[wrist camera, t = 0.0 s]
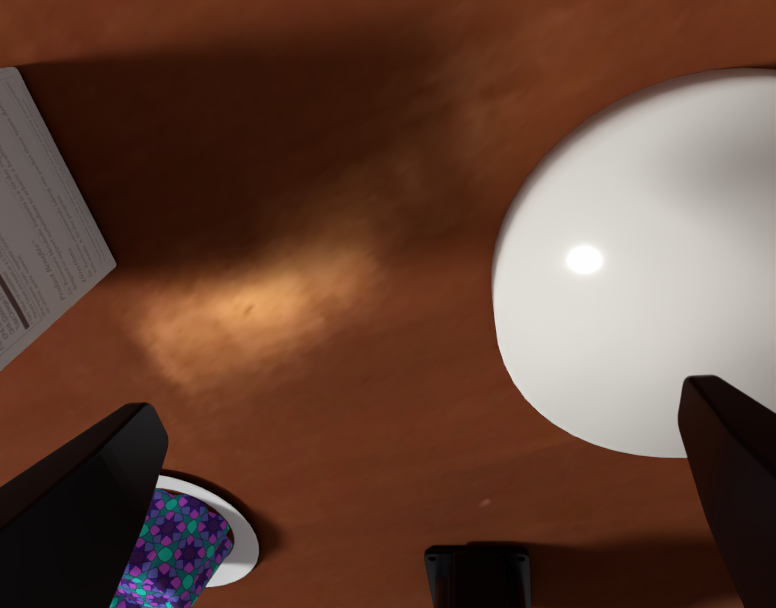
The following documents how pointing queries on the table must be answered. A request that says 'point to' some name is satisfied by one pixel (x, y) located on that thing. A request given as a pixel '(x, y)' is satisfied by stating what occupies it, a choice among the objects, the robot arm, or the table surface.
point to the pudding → (185, 549)
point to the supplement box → (39, 226)
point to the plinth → (645, 260)
